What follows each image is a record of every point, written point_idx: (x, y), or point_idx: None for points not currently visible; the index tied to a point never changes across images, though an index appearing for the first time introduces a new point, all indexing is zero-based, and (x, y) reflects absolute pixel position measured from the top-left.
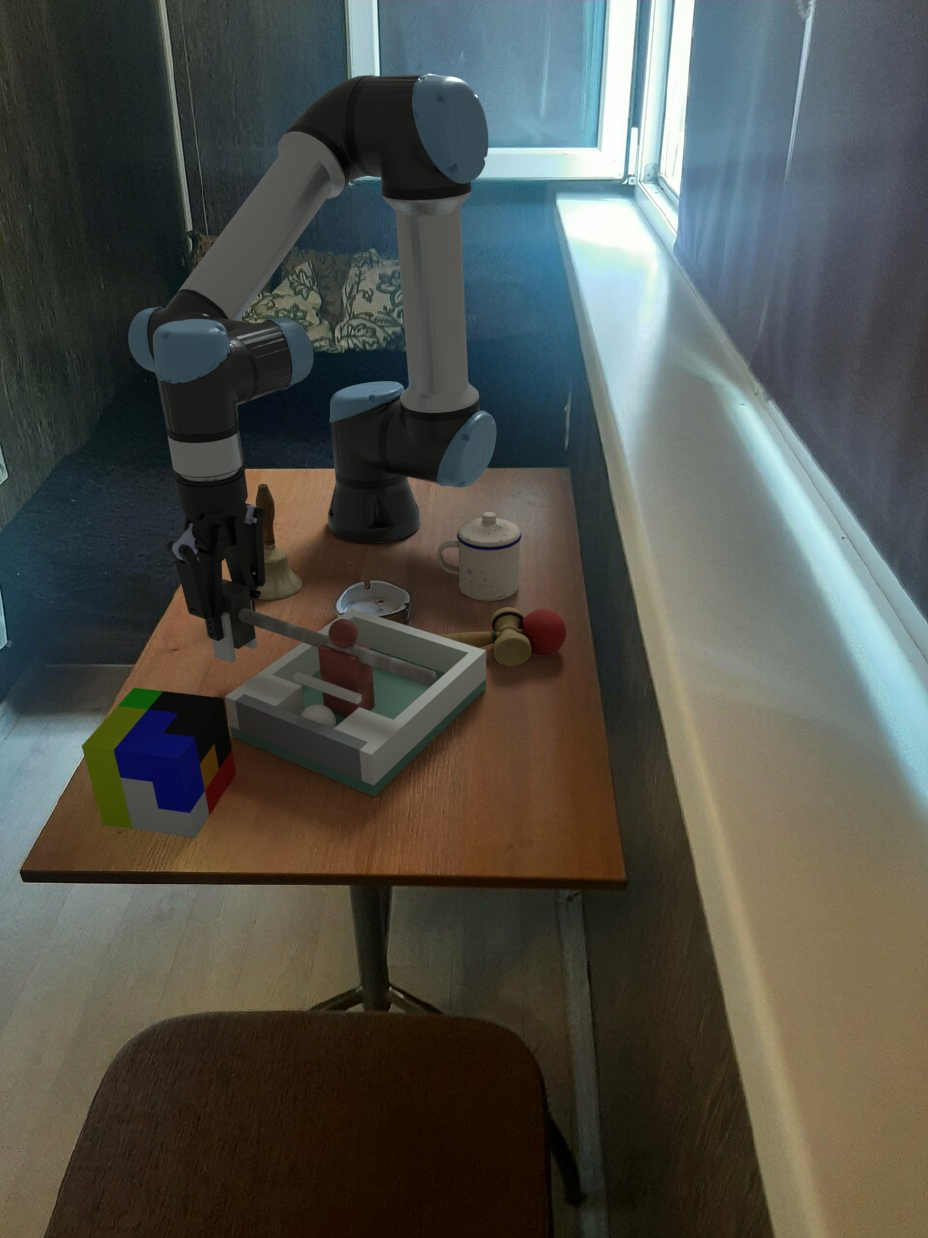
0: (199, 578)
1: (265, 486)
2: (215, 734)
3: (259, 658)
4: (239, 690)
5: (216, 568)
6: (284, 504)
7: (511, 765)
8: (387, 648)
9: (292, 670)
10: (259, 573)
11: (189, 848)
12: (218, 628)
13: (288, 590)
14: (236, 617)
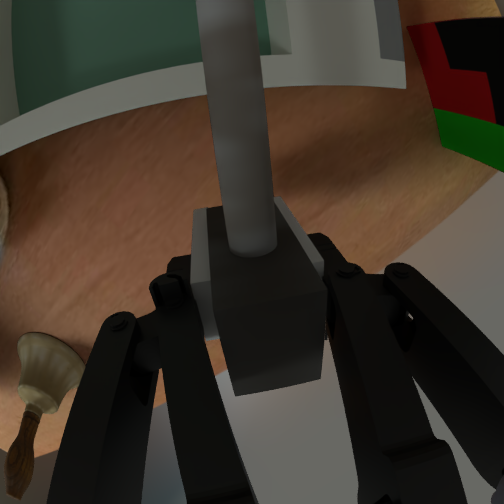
0: (493, 371)
1: (9, 495)
2: (502, 17)
3: (161, 233)
4: (377, 76)
5: (410, 417)
6: (8, 431)
7: None
8: (5, 50)
9: None
10: (118, 353)
11: (487, 15)
12: (325, 251)
13: (37, 341)
14: (284, 241)
